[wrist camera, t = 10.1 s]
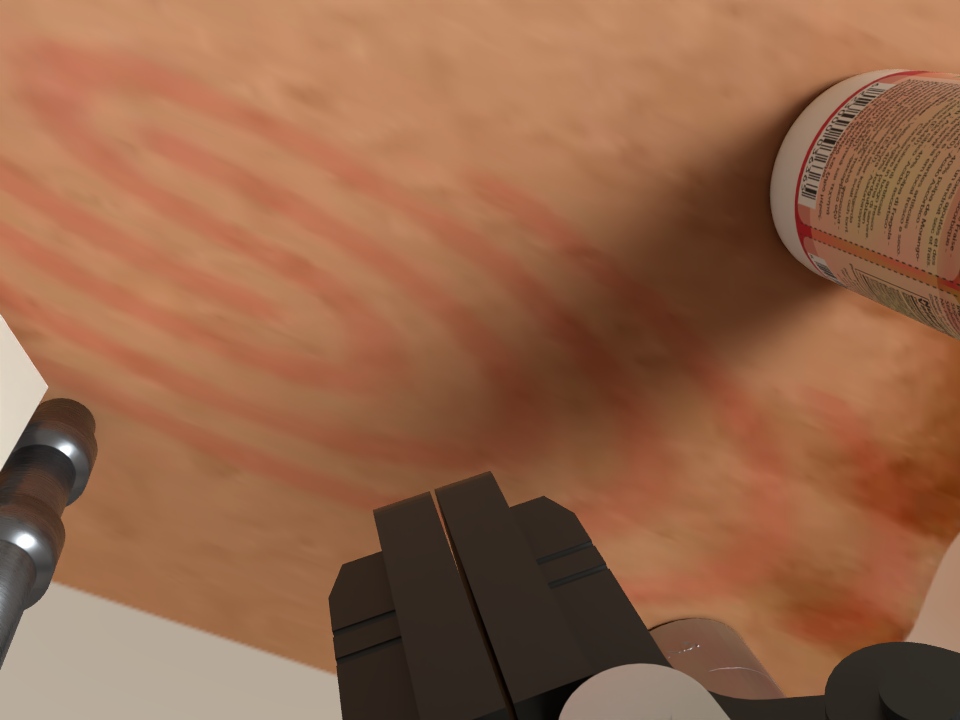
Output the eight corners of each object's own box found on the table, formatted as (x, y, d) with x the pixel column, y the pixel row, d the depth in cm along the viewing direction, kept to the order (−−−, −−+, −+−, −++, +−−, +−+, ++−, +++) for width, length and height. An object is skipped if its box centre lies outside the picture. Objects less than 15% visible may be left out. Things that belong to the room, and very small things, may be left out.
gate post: (122, 434, 35) (44, 671, 22) (56, 474, 35) (-61, 735, 22) (70, 374, 33) (-45, 592, 21) (1, 416, 33) (-157, 659, 21)
